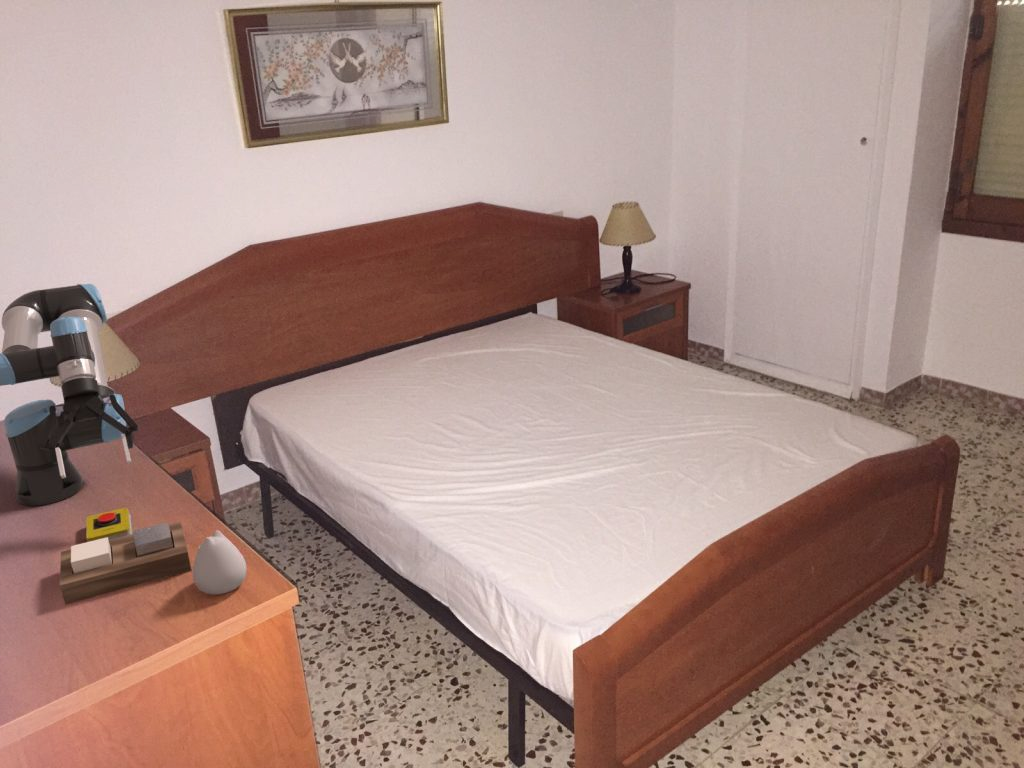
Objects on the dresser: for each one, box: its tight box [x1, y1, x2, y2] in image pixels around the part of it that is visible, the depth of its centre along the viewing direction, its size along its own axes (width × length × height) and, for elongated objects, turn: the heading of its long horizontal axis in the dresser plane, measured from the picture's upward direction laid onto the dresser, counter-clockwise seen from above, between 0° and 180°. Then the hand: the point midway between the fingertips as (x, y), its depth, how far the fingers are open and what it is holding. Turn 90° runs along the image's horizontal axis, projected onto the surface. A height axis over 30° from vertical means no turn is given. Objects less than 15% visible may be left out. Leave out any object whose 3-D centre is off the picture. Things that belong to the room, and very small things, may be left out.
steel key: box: [132, 522, 173, 557], centre depth 176 cm, size 7×7×3 cm
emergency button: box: [85, 507, 133, 542], centre depth 190 cm, size 9×4×15 cm
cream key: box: [70, 537, 112, 574], centre depth 171 cm, size 7×7×3 cm
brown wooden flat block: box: [59, 521, 192, 605], centre depth 175 cm, size 14×24×4 cm, turn 116°
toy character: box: [192, 529, 248, 596], centre depth 167 cm, size 10×10×12 cm
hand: (96, 469), depth 187 cm, fingers open, 13 cm apart
